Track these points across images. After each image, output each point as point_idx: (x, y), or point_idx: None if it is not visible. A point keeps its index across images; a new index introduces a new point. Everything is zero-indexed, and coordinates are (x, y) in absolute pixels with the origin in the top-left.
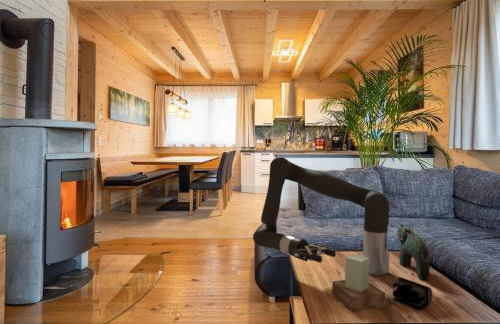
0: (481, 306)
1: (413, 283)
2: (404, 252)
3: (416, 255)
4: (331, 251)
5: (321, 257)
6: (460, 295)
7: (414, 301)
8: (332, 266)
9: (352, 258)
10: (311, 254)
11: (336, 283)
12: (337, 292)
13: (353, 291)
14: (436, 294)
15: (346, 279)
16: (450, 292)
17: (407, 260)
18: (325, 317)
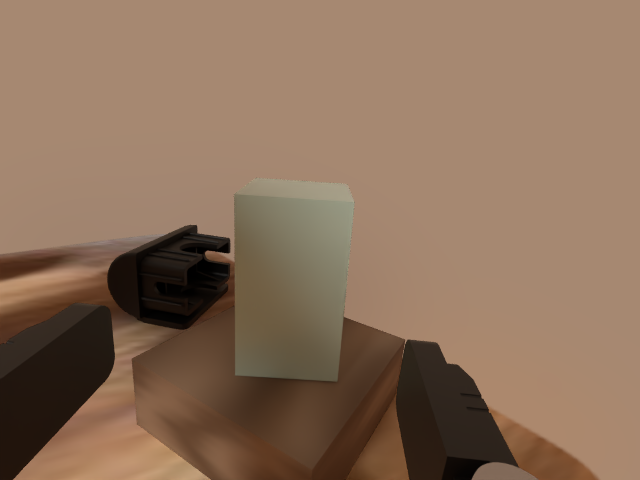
0: (130, 239)
1: (172, 240)
2: None
3: None
4: (73, 338)
5: (419, 343)
6: (72, 252)
7: (206, 281)
8: None
9: (337, 193)
10: (513, 474)
11: (324, 434)
12: (343, 456)
13: (347, 347)
14: (82, 274)
15: (340, 333)
16: (54, 260)
17: None
18: (547, 452)
